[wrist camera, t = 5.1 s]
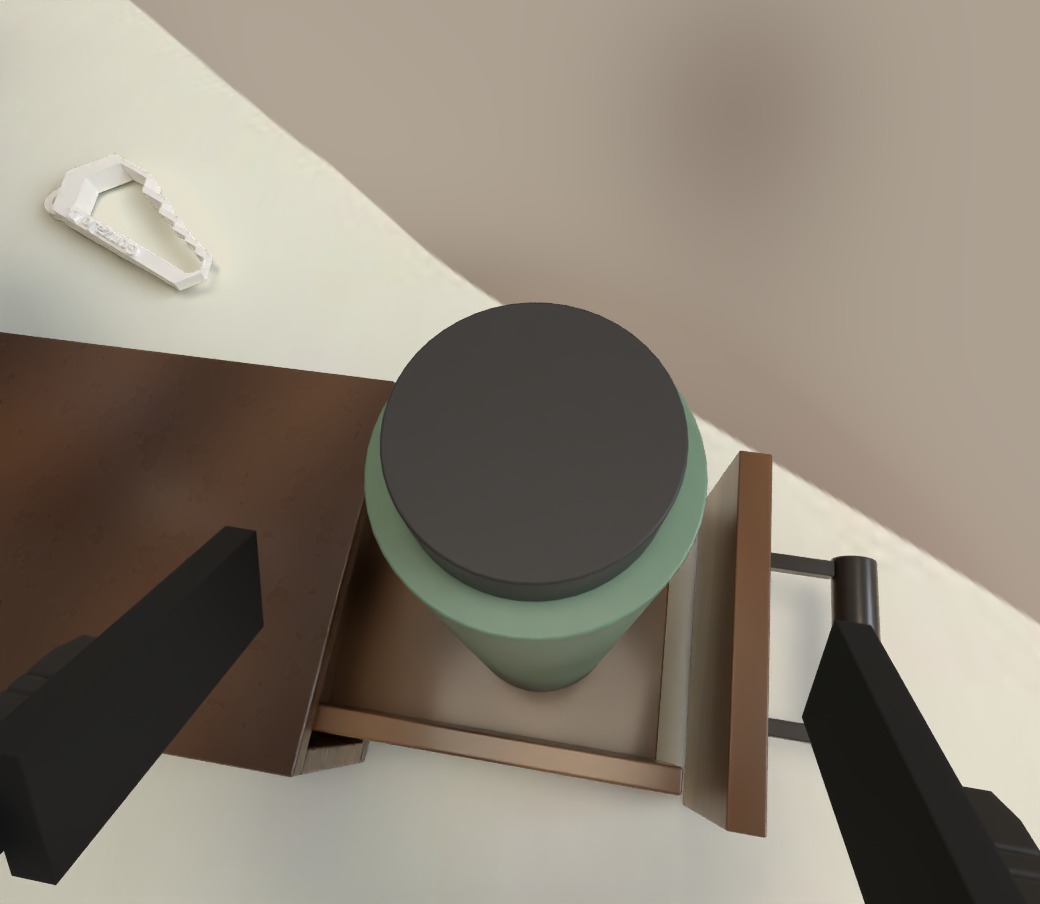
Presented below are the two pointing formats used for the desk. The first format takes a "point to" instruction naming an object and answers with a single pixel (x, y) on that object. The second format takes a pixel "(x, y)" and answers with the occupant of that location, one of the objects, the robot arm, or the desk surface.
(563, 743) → the drawer
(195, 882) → the desk surface
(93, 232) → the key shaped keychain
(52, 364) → the cabinet
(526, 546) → the bottle
